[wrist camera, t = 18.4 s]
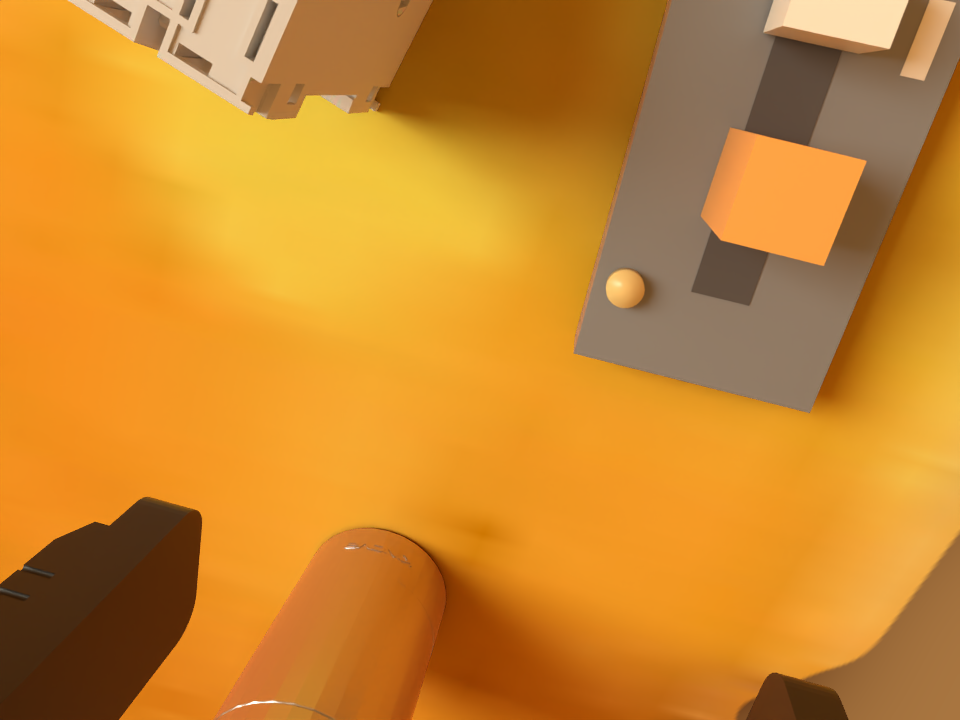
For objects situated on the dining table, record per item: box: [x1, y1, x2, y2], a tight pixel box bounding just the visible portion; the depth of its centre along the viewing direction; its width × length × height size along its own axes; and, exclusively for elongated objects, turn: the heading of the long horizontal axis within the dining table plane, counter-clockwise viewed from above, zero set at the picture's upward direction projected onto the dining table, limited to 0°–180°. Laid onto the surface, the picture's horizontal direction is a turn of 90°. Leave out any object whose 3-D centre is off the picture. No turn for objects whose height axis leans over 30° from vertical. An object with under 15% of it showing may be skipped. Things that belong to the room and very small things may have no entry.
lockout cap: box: [700, 127, 867, 266], centre depth 30 cm, size 4×4×6 cm
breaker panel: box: [574, 0, 960, 413], centre depth 33 cm, size 26×12×4 cm, turn 168°
